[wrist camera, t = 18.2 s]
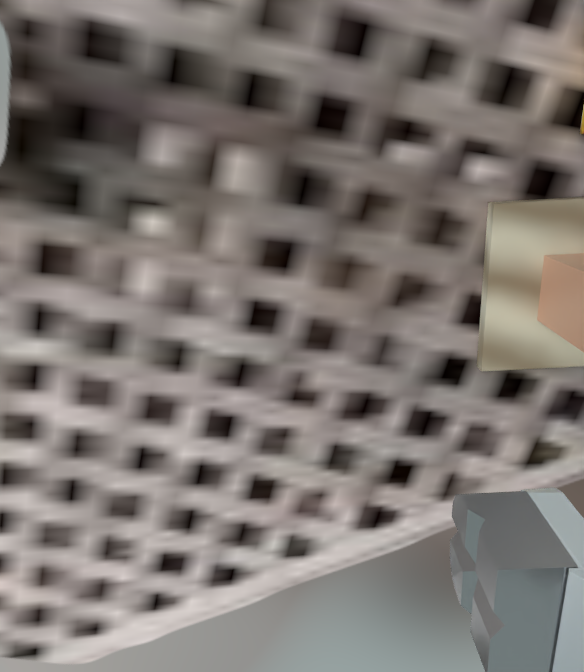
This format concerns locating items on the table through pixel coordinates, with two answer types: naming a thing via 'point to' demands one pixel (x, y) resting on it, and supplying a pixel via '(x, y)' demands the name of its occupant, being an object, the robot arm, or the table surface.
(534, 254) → the placemat
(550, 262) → the terracotta block
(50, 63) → the table surface
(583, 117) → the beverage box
